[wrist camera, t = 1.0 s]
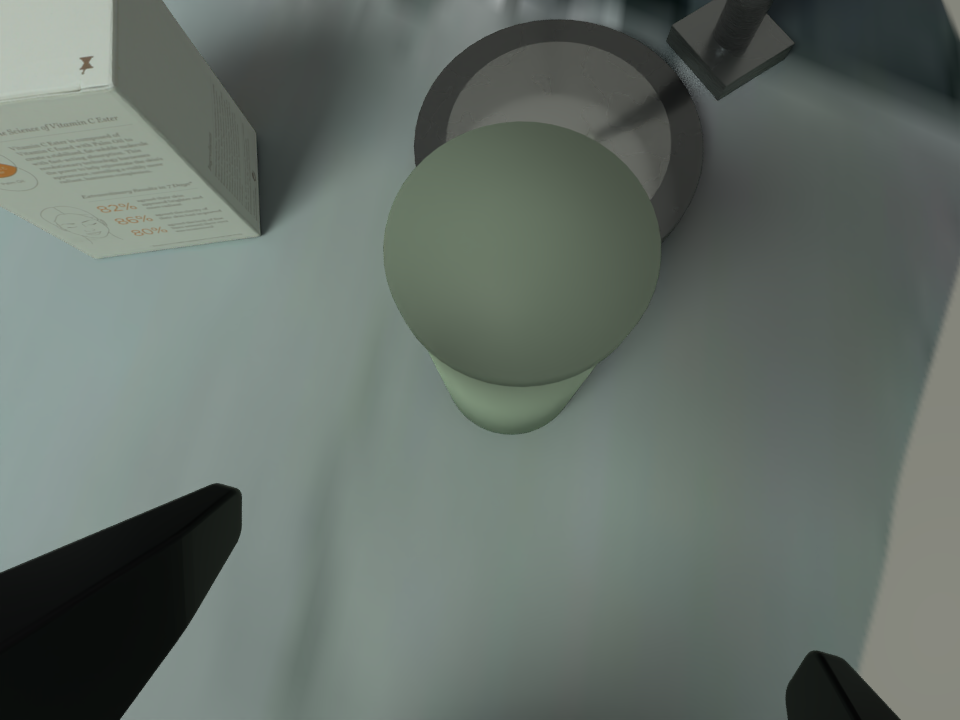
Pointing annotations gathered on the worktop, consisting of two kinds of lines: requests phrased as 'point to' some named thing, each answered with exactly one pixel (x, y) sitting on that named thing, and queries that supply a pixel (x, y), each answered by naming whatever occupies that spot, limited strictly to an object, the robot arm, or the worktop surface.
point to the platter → (576, 101)
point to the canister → (520, 266)
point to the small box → (119, 130)
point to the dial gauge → (729, 43)
